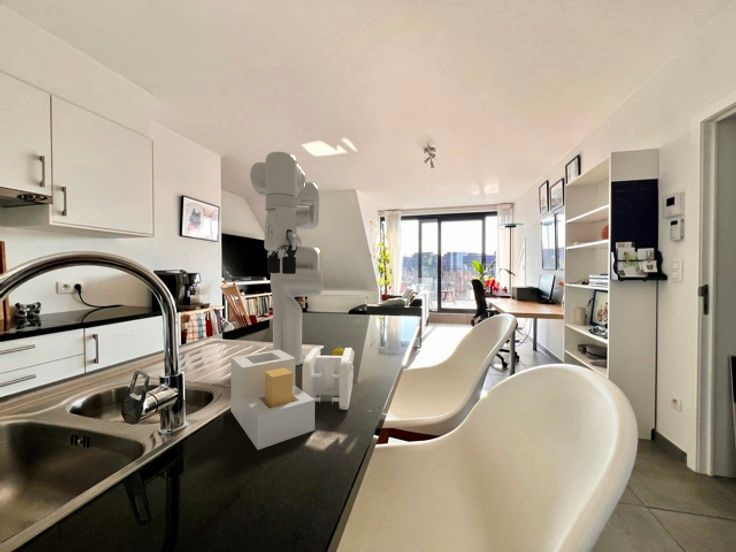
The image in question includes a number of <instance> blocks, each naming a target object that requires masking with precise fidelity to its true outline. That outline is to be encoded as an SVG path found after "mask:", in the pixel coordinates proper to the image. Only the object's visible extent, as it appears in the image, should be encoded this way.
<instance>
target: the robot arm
mask: <svg viewBox="0 0 736 552" xmlns="http://www.w3.org/2000/svg"><path fill="white" fill-rule="evenodd" d="M249 178H250V182H251V186H252V187H253V189H254V191H255V192H256V193H257V194H258V195H261V196H264V197H265V202H264V203H265V207H264V210H265V212H266V215H265V225H264V241H263V242H264V244H263V246H264V247H263V248H264V249H265V250H266V252H267V254H266V256H267V257H266V258H267V273H268V274H270V279H269V280H270V281H269V283H270V290H271V298H272V351H274V350H281V351H283V352H285V353H287V354H288V355H290V356H292V357H294V358H295V367H296V366H300V365H303V362H304V359H305V358H306V357H307V355H304V354H303V310H302V309H303V308H302V306H301V305H300V303H299V302H298V301H297V300H296V298H297V297H318V296H320V295H321V294H323V293H322V292H323V291H324V267H323V265H324V264H323V255H322V252H321V249H320V248H318V247H315V246H303V245H302V239H301V237H300V236H299V235H298V233H297V232H298V231H297V229H298V230H299V229H300V230H302V229H303V230H313V229H316V228H317V227H318V225H319V222H320V193H319V192H320V191H319V187H318V186H317V184H315V183H314V182H311V181H306V174H305V172H304V171H303V169H302V167H301V166H300V165H299V164H298V161H297V159H296V157H295V155H292V154H291V153H289V152H285V151H272V152H270V153H268V154H267V155H266V157H265V161H258V162H255V163H253V165H252V166H251V168H250V172H249ZM295 297H296V298H295Z"/></svg>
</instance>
